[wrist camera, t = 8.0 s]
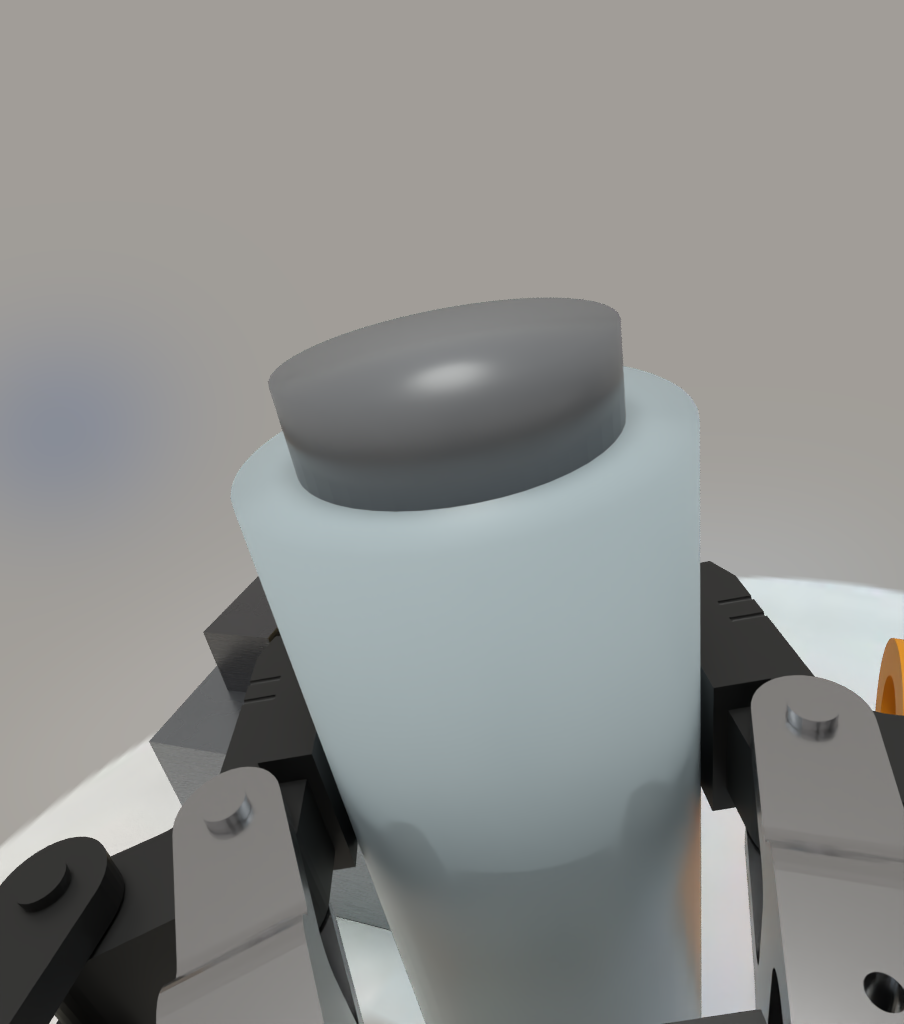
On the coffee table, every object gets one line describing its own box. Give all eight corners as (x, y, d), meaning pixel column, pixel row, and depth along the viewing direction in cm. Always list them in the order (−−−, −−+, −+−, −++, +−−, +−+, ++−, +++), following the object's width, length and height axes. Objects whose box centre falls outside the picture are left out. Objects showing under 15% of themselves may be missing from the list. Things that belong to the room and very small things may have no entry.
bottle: (701, 877, 13) (699, 264, 8) (701, 1208, 9) (699, 422, 4) (469, 835, 15) (338, 310, 10) (385, 1098, 11) (77, 450, 6)
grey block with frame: (662, 749, 32) (657, 536, 26) (646, 995, 23) (633, 748, 17) (336, 707, 38) (278, 528, 33) (224, 887, 29) (118, 681, 24)
